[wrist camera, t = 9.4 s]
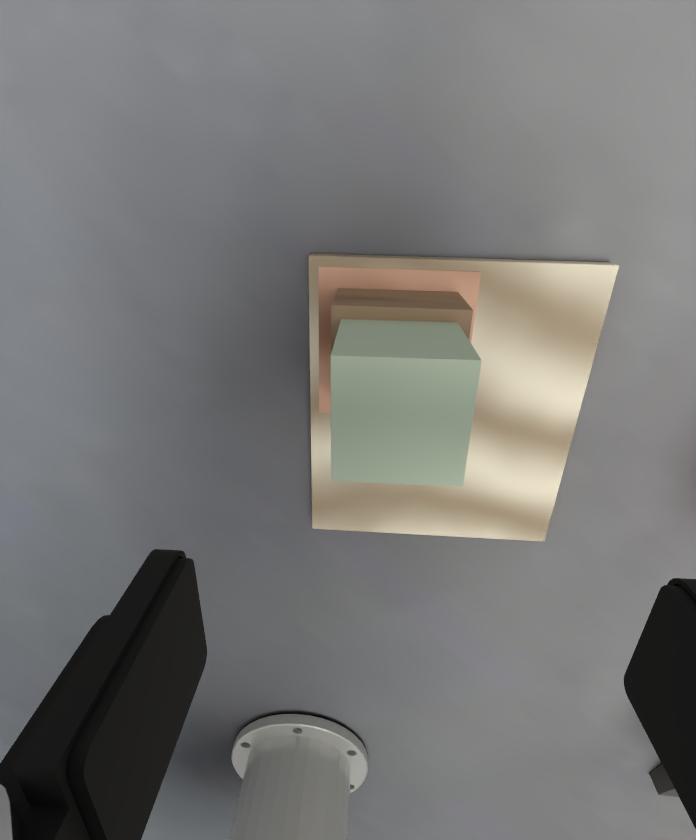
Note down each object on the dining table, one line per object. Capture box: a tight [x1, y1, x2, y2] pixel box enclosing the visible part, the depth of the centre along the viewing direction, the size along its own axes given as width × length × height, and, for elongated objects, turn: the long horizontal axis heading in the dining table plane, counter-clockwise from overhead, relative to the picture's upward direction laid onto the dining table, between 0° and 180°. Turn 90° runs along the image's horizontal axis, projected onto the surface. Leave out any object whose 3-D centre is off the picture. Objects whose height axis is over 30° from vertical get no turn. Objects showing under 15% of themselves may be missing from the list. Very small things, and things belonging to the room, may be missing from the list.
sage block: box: [331, 319, 482, 487], centre depth 19 cm, size 5×5×5 cm
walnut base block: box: [330, 288, 473, 430], centre depth 23 cm, size 6×6×4 cm
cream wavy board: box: [309, 253, 619, 541], centre depth 27 cm, size 17×15×1 cm
